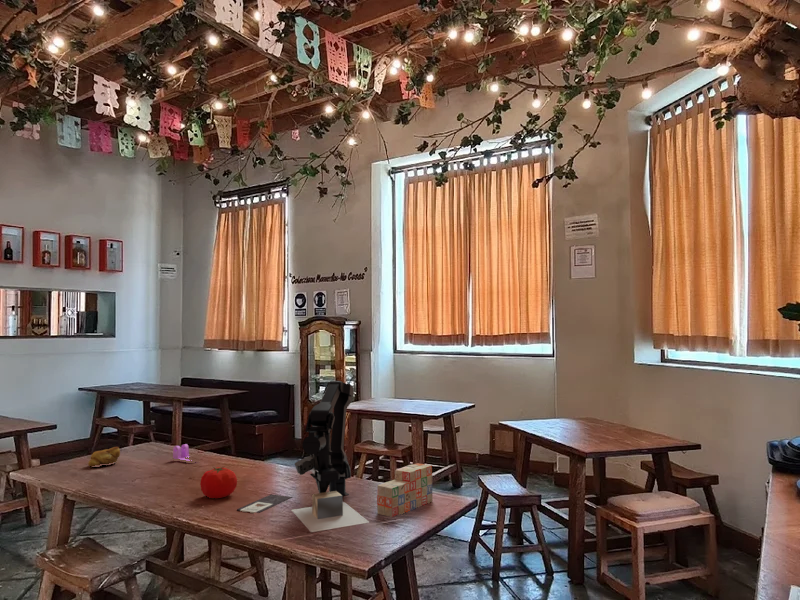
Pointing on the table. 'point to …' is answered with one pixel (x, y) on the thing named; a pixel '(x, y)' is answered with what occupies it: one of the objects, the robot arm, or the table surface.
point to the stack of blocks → (405, 490)
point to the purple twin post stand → (181, 452)
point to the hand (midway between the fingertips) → (321, 497)
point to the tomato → (218, 482)
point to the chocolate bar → (264, 503)
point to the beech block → (327, 504)
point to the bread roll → (104, 456)
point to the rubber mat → (329, 519)
